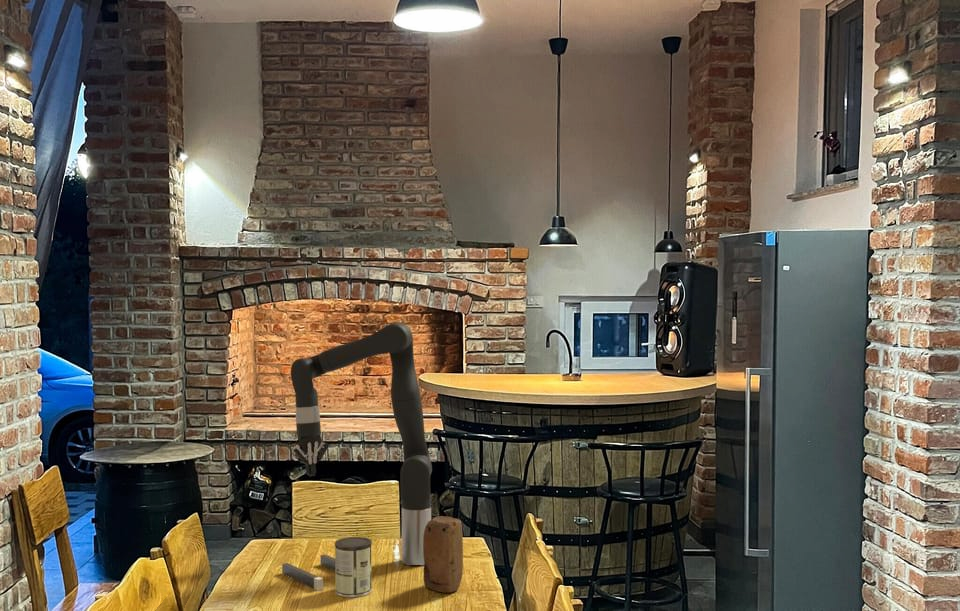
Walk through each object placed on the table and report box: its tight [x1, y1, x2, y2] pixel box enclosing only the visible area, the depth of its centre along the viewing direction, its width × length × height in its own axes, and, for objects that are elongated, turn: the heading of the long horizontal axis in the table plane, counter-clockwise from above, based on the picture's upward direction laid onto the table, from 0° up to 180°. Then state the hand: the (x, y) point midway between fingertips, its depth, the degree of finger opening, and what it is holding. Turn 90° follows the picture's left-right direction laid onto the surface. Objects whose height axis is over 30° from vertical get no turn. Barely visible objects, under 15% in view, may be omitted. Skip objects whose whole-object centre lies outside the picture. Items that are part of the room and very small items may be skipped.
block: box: [423, 515, 464, 594], centre depth 248 cm, size 11×8×20 cm
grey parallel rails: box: [281, 554, 335, 592], centre depth 259 cm, size 15×20×3 cm
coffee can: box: [334, 536, 373, 598], centre depth 246 cm, size 10×10×14 cm
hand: (311, 475), depth 276 cm, fingers closed
